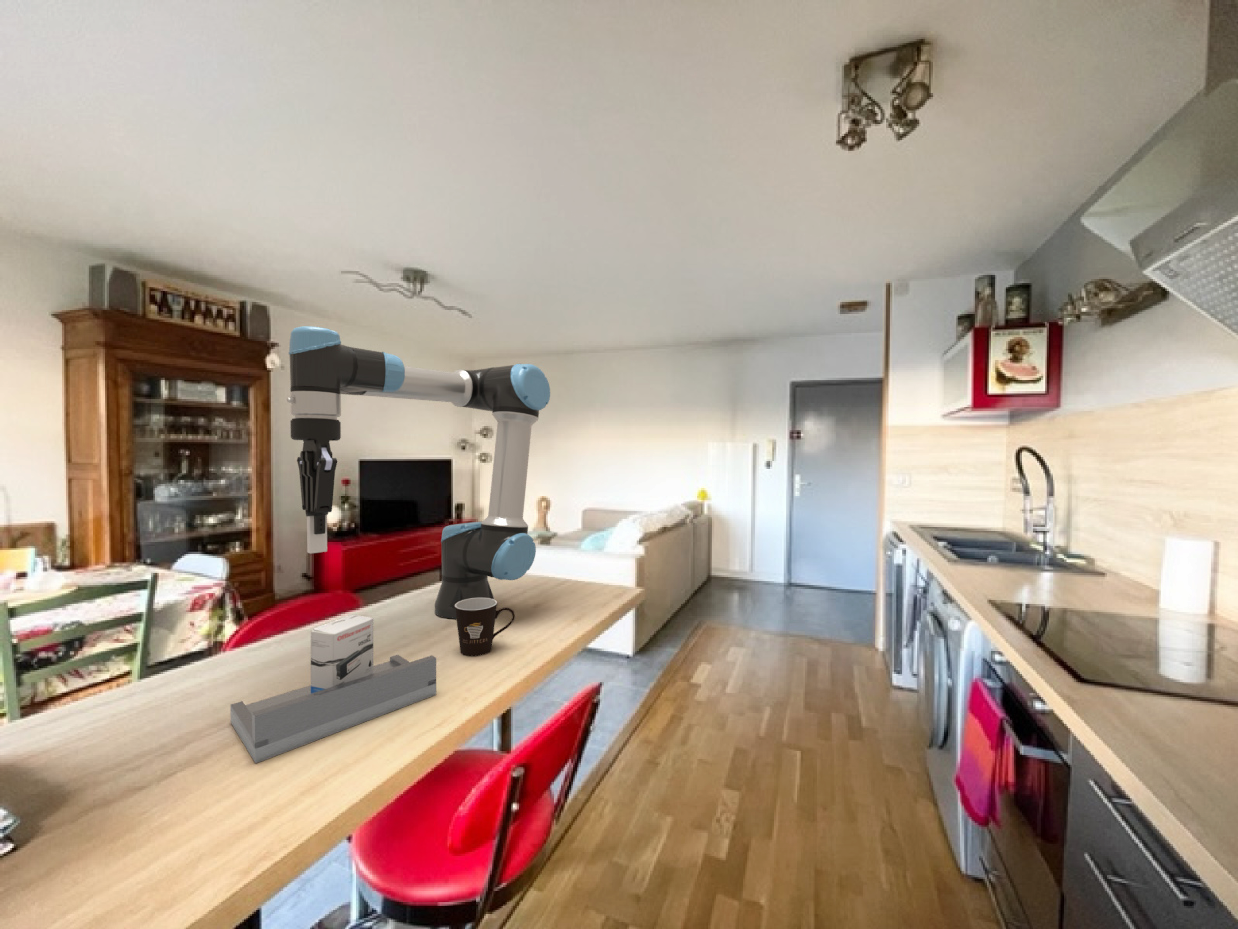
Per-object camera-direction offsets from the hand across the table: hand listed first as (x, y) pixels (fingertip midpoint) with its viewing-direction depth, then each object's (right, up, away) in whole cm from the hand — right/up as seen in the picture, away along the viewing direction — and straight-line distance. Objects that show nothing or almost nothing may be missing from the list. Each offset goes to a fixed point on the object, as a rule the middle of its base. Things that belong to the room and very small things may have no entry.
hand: (317, 551), depth 88 cm
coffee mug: (+24, -24, +18) cm, 39 cm away
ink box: (+7, -23, -5) cm, 25 cm away
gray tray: (+7, -25, -6) cm, 26 cm away
